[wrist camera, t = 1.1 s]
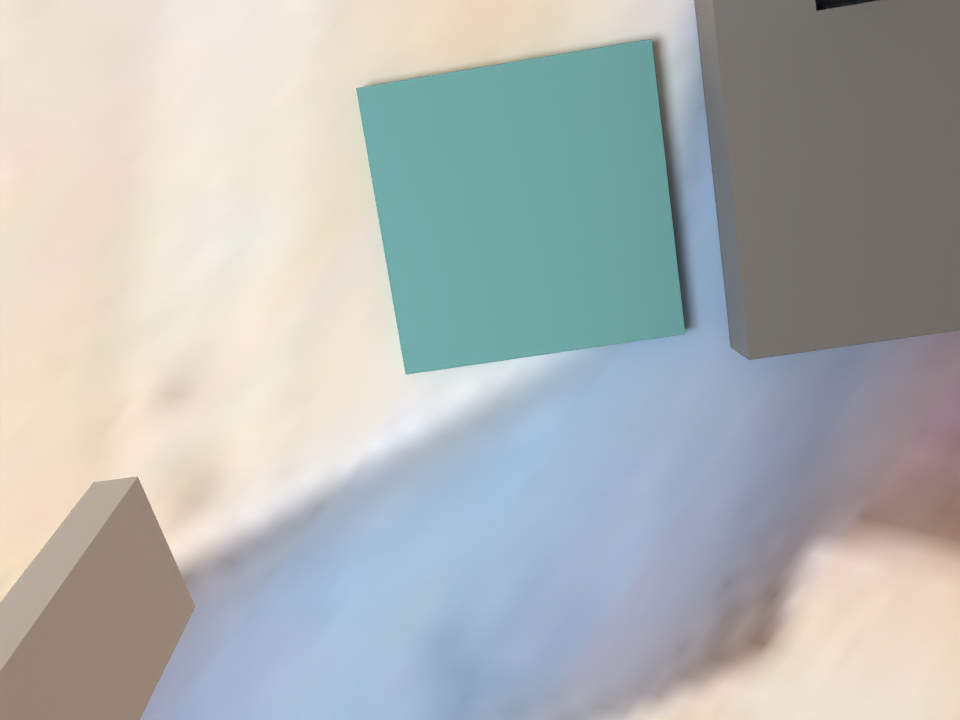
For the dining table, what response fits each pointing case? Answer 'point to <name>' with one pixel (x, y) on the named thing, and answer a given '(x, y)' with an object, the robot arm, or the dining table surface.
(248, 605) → the dining table surface
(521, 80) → the mat
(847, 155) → the grey socket plate
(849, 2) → the plug
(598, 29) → the dining table surface
